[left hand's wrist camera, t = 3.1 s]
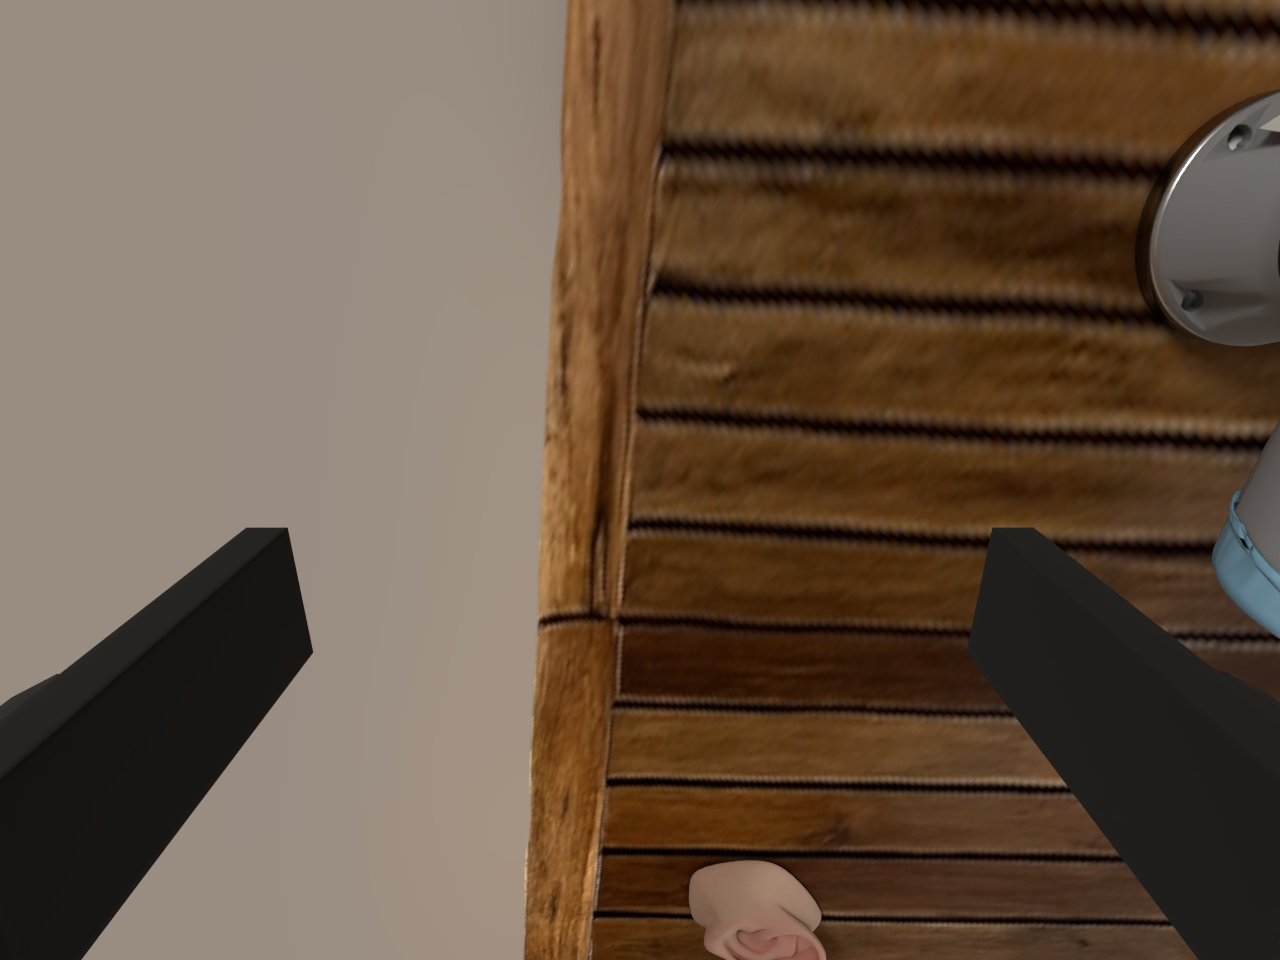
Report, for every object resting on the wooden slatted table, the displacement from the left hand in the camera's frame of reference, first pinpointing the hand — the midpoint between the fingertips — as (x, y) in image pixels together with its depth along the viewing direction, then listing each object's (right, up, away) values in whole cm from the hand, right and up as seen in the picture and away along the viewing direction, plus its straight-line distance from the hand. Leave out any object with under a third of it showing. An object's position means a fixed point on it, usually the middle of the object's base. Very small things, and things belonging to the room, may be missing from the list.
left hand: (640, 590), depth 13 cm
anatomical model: (+11, -39, +53) cm, 67 cm away
